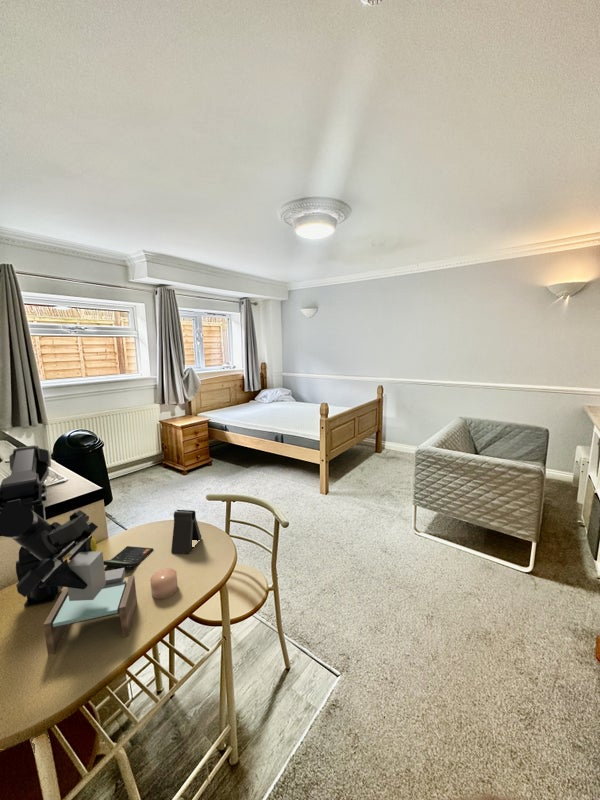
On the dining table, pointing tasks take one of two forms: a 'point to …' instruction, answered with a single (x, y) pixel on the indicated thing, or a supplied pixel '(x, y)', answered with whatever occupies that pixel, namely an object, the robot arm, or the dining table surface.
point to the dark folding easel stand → (184, 531)
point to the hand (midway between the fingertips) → (93, 578)
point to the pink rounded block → (164, 583)
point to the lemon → (93, 544)
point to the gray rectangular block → (88, 575)
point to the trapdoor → (95, 601)
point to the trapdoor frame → (56, 633)
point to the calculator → (129, 557)
